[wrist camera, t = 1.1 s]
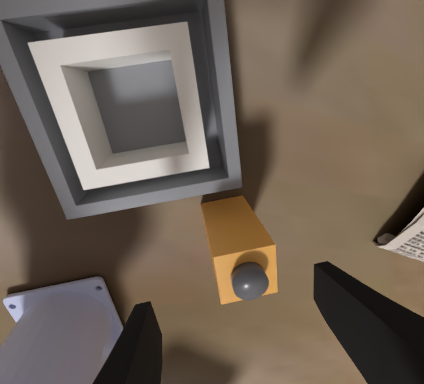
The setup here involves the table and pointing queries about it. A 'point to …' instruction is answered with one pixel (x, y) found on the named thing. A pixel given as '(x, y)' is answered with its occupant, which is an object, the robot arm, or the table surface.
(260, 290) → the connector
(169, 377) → the table surface
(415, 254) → the newspaper
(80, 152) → the walled box
